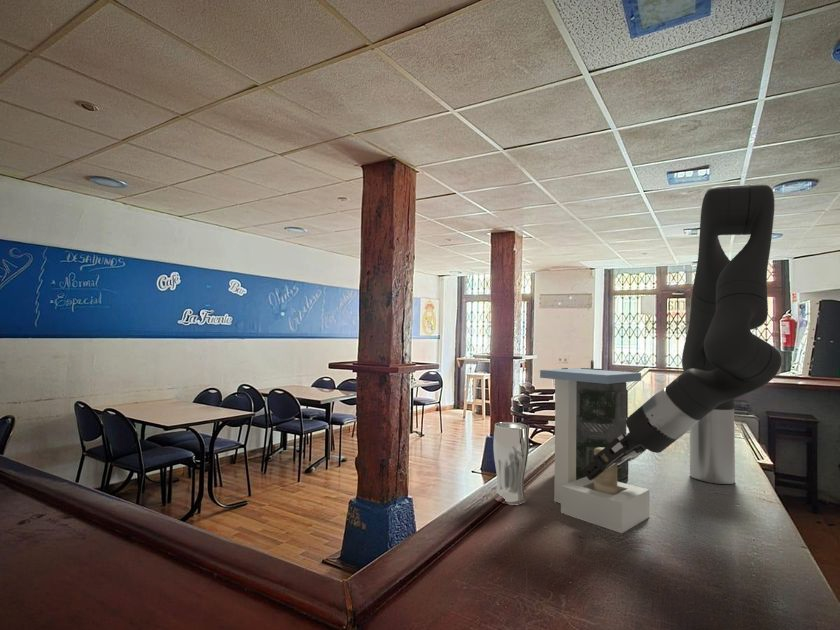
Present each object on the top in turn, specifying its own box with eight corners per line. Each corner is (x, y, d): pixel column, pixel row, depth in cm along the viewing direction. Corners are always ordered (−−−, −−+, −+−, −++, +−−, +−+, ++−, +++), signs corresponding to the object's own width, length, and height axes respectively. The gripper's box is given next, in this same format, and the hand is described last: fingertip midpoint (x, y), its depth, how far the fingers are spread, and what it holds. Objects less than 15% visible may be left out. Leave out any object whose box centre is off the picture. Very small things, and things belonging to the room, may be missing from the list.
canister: (632, 494, 97) (632, 363, 98) (555, 485, 102) (556, 360, 103) (624, 474, 112) (624, 360, 113) (557, 467, 117) (558, 358, 118)
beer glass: (507, 508, 86) (508, 429, 87) (485, 497, 93) (486, 423, 93) (535, 503, 90) (536, 427, 90) (512, 492, 96) (513, 421, 97)
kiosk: (618, 535, 76) (618, 376, 77) (538, 508, 87) (540, 370, 89) (652, 515, 85) (651, 373, 86) (575, 493, 96) (576, 368, 98)
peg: (597, 509, 87) (598, 446, 88) (619, 514, 85) (619, 449, 86) (591, 515, 84) (591, 450, 85) (613, 521, 82) (613, 453, 82)
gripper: (661, 399, 85) (602, 449, 93) (628, 405, 75) (565, 460, 83) (693, 432, 81) (628, 482, 89) (662, 443, 71) (593, 497, 79)
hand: (598, 471), depth 86 cm, fingers open, 8 cm apart
